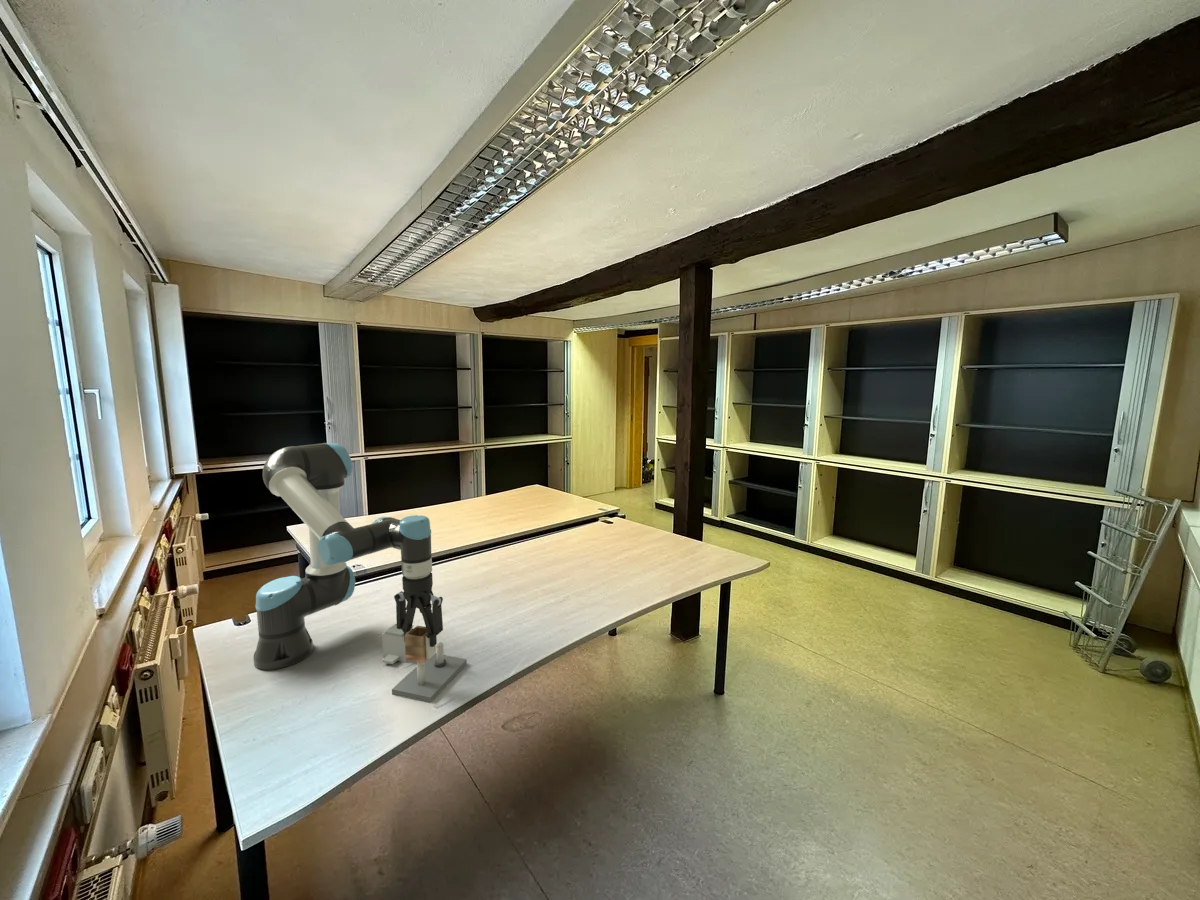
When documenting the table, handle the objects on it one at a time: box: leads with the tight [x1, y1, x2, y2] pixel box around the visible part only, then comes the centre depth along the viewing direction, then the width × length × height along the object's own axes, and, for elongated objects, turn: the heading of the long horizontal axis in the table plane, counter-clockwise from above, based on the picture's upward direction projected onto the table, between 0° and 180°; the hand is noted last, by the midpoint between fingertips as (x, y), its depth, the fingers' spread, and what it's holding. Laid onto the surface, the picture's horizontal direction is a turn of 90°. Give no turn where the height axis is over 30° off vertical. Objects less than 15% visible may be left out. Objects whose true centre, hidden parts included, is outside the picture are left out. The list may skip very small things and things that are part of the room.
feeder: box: [381, 623, 413, 665], centre depth 141 cm, size 8×8×9 cm
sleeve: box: [405, 625, 428, 663], centre depth 126 cm, size 5×5×7 cm
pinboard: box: [391, 641, 468, 703], centre depth 132 cm, size 12×18×8 cm, turn 165°
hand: (420, 654), depth 126 cm, fingers closed on sleeve, 5 cm apart
